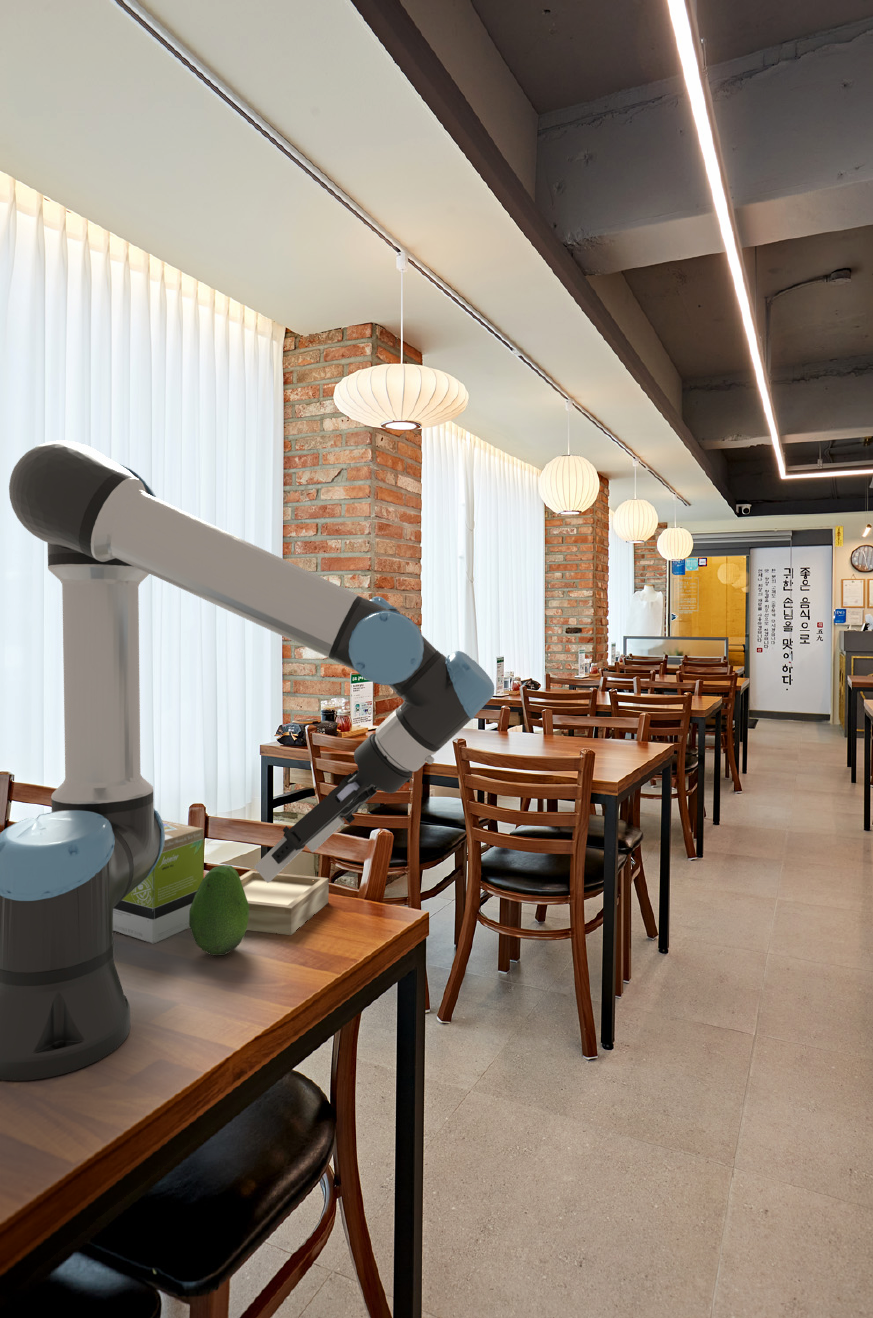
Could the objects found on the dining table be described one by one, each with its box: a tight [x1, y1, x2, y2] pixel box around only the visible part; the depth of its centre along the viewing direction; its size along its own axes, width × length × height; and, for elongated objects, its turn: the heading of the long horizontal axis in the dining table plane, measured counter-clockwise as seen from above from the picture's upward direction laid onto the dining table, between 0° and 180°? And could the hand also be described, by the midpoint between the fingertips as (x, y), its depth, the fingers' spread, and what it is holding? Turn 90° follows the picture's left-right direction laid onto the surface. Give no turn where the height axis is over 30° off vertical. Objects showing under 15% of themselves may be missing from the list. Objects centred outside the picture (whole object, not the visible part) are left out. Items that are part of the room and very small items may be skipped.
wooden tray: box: [239, 869, 330, 936], centre depth 119 cm, size 14×14×4 cm
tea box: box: [113, 819, 205, 945], centre depth 114 cm, size 15×10×15 cm
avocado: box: [189, 864, 249, 956], centre depth 104 cm, size 8×8×12 cm
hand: (285, 858), depth 102 cm, fingers open, 13 cm apart
